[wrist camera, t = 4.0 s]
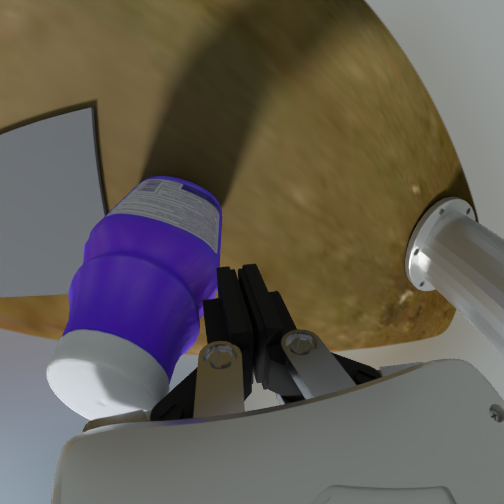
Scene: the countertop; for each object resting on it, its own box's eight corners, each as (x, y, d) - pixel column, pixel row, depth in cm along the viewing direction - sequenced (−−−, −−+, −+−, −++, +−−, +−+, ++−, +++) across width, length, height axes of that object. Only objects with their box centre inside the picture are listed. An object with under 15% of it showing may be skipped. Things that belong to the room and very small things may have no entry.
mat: (93, 107, 18) (91, 107, 17) (123, 286, 25) (122, 289, 25) (-59, 162, 14) (-62, 164, 14) (-20, 295, 22) (-22, 298, 21)
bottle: (127, 226, 23) (24, 404, 7) (143, 162, 20) (-9, 299, 5) (207, 252, 25) (196, 457, 9) (231, 191, 22) (249, 384, 7)
